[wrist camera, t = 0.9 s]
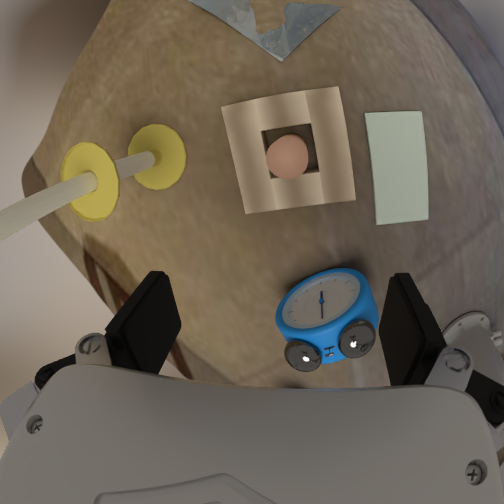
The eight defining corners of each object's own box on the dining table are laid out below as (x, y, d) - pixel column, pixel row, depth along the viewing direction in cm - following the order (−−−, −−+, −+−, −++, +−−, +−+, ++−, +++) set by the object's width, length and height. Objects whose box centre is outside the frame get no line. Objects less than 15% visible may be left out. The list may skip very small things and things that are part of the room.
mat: (419, 111, 29) (421, 111, 28) (426, 217, 35) (428, 219, 34) (363, 113, 31) (364, 113, 30) (375, 223, 37) (376, 225, 36)
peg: (304, 131, 33) (304, 135, 24) (309, 161, 35) (311, 176, 26) (273, 136, 34) (262, 142, 25) (279, 165, 36) (270, 182, 27)
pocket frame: (335, 89, 30) (338, 86, 27) (352, 193, 36) (355, 200, 33) (227, 107, 33) (221, 107, 31) (250, 207, 39) (245, 214, 36)
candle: (170, 111, 35) (-69, 157, 6) (198, 173, 38) (-4, 320, 10) (119, 143, 38) (-79, 223, 9) (144, 199, 41) (-29, 331, 13)
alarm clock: (359, 254, 39) (379, 321, 26) (371, 287, 41) (390, 358, 28) (279, 285, 44) (265, 356, 31) (295, 314, 46) (288, 386, 33)
